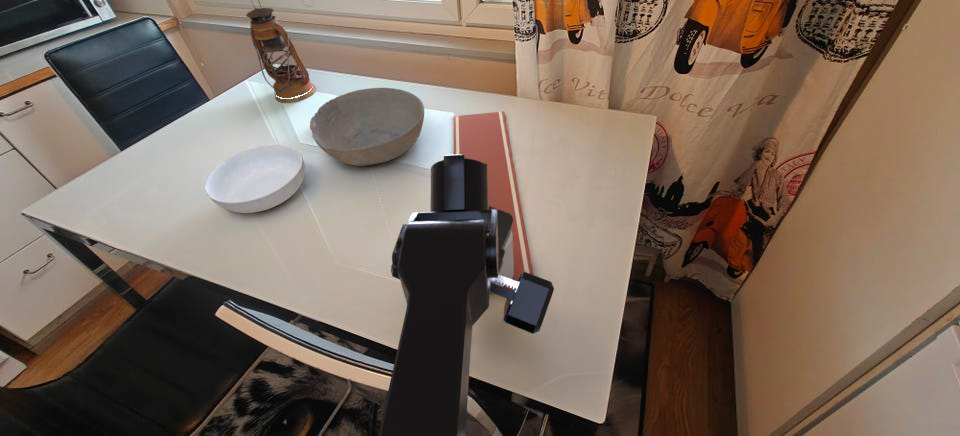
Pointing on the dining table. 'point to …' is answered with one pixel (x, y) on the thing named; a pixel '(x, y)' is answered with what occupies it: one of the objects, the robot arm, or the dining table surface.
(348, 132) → the bowl
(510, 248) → the can
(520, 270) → the red table runner
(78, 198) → the dining table surface
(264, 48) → the lantern
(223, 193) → the serving bowl
